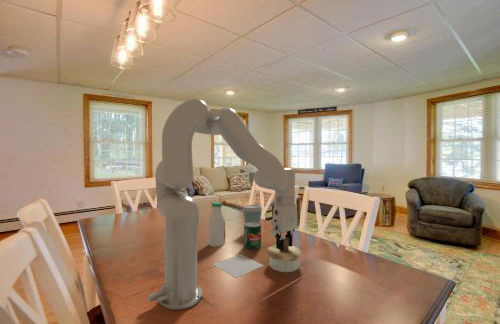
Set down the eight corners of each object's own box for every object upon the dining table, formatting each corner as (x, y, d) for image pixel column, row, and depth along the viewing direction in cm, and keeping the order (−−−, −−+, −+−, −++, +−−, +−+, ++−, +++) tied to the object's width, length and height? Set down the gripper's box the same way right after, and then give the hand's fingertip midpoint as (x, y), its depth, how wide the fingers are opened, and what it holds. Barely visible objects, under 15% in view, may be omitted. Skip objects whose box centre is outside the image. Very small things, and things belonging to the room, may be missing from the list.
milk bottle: (222, 248, 115) (222, 204, 114) (206, 247, 117) (206, 204, 116) (227, 242, 123) (227, 201, 122) (212, 241, 124) (211, 200, 123)
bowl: (286, 276, 90) (286, 262, 90) (264, 266, 98) (264, 253, 98) (304, 266, 97) (304, 254, 97) (282, 257, 105) (282, 246, 105)
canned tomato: (252, 252, 111) (253, 227, 110) (240, 247, 116) (240, 224, 116) (264, 247, 117) (264, 223, 116) (252, 243, 122) (252, 220, 121)
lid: (286, 264, 88) (286, 247, 88) (260, 253, 98) (260, 238, 97) (308, 254, 97) (308, 238, 97) (281, 244, 106) (282, 230, 106)
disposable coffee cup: (239, 234, 134) (239, 206, 133) (246, 228, 144) (246, 202, 143) (258, 237, 130) (259, 208, 129) (264, 230, 140) (264, 204, 140)
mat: (235, 279, 88) (235, 277, 88) (212, 265, 98) (212, 264, 98) (264, 266, 97) (264, 265, 97) (240, 255, 107) (240, 254, 107)
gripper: (277, 205, 88) (277, 256, 89) (306, 198, 99) (305, 244, 100) (262, 201, 93) (261, 250, 94) (290, 196, 105) (290, 239, 106)
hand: (284, 246), depth 97 cm, fingers open, 4 cm apart
